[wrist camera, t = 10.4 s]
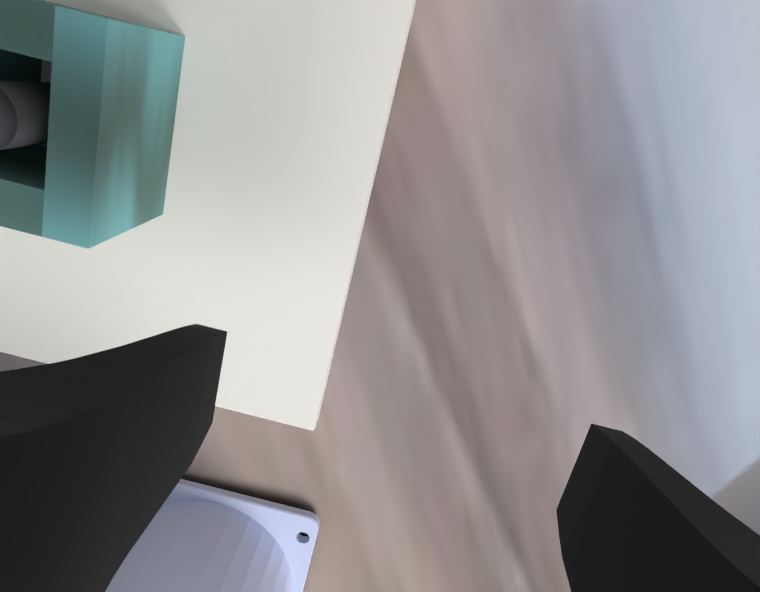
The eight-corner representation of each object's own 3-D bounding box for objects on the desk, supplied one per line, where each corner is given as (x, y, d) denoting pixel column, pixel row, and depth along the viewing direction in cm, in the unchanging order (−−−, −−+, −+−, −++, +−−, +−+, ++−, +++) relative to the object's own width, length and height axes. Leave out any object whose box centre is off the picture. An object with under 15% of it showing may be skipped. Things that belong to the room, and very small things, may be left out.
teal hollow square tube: (162, 214, 20) (88, 248, 15) (-1, 172, 20) (-122, 194, 15) (185, 36, 18) (107, 19, 14) (4, -10, 18) (-129, -42, 14)
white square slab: (318, 416, 23) (278, 533, 17) (-155, 297, 23) (-365, 371, 17) (450, -145, 17) (460, -276, 11) (-190, -307, 17) (-535, -529, 11)
